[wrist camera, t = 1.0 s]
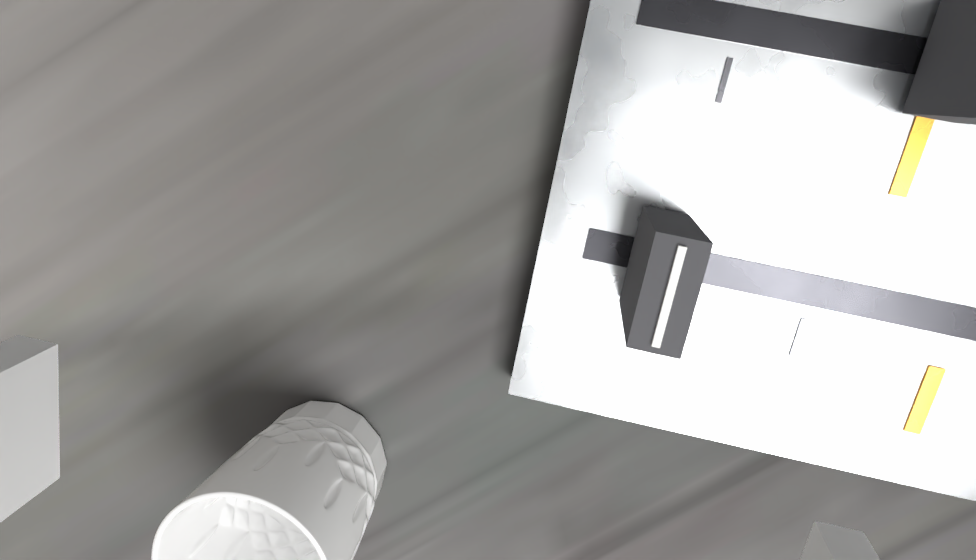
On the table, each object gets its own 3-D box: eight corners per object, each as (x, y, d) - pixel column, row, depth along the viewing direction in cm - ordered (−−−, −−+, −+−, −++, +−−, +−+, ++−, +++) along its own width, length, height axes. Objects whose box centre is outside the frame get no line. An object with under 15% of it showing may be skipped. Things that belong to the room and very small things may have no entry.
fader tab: (642, 204, 30) (656, 232, 24) (689, 214, 30) (714, 244, 24) (618, 300, 31) (626, 348, 25) (663, 309, 31) (681, 361, 25)
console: (612, -98, 29) (614, -112, 27) (1220, 4, 27) (1271, -3, 25) (512, 377, 35) (507, 394, 33) (1001, 488, 33) (1028, 514, 31)
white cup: (396, 395, 36) (328, 502, 27) (398, 525, 38) (336, 668, 29) (254, 384, 37) (140, 483, 28) (264, 511, 39) (161, 645, 30)
